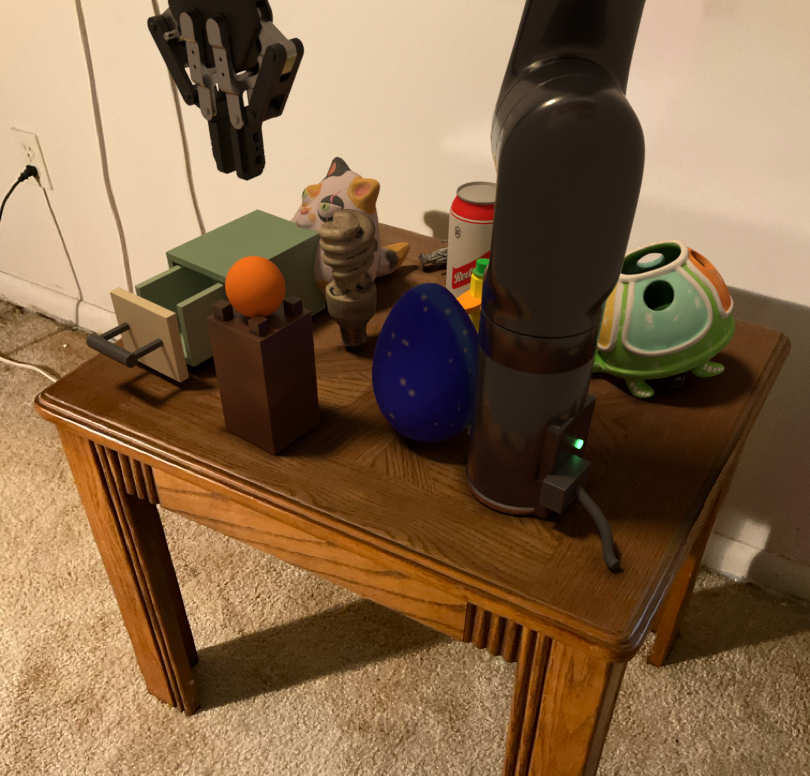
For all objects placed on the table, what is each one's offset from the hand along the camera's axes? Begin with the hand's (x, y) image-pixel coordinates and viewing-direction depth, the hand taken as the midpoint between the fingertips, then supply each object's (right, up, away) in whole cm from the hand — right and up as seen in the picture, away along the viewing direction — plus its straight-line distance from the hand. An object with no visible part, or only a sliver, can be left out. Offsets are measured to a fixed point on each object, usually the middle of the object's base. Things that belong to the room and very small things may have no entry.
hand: (241, 172), depth 62 cm
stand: (0, -17, +17) cm, 24 cm away
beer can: (+20, -5, +29) cm, 36 cm away
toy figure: (+19, -10, +24) cm, 32 cm away
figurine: (+7, +3, +37) cm, 38 cm away
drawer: (-11, -8, +24) cm, 28 cm away
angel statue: (+18, +10, +41) cm, 46 cm away
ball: (0, -7, +7) cm, 9 cm away
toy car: (+41, -10, +24) cm, 48 cm away
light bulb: (+7, -7, +27) cm, 29 cm away
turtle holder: (+39, -10, +23) cm, 46 cm away
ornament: (+14, -17, +17) cm, 28 cm away
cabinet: (-5, -3, +31) cm, 32 cm away
